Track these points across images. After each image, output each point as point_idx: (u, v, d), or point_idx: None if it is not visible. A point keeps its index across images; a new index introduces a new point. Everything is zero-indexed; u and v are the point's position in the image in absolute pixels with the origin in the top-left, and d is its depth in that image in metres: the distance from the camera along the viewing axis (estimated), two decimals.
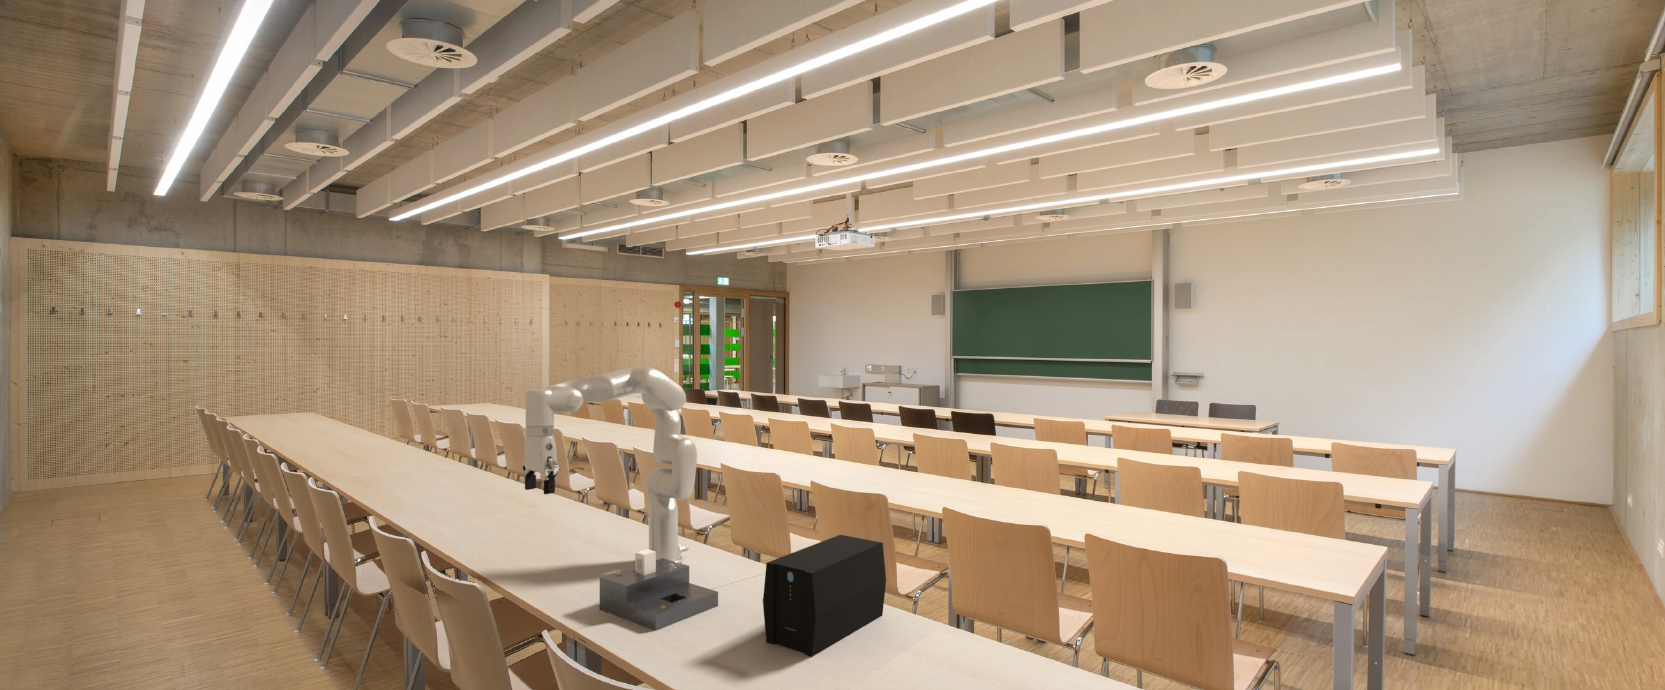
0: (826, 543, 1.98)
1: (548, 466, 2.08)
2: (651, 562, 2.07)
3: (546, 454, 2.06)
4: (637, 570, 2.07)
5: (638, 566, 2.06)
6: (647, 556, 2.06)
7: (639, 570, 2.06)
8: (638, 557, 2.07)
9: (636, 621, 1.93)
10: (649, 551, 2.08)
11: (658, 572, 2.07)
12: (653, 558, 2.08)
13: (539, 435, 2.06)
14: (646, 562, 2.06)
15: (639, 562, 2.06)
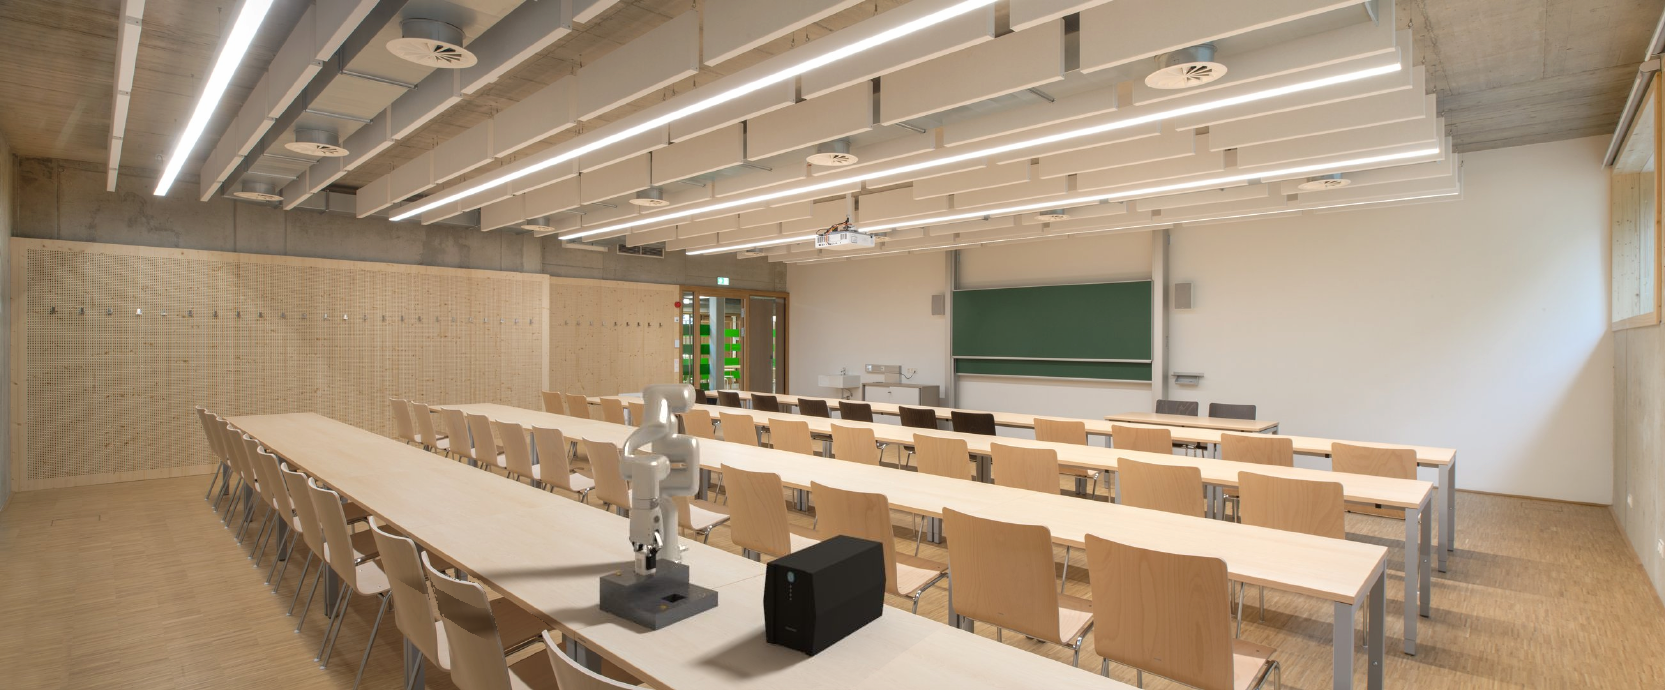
0: (826, 543, 1.98)
1: None
2: None
3: (654, 527, 2.04)
4: (637, 570, 2.07)
5: (638, 566, 2.06)
6: None
7: (639, 570, 2.06)
8: (638, 557, 2.07)
9: (636, 621, 1.93)
10: None
11: (658, 572, 2.07)
12: None
13: (647, 508, 2.04)
14: None
15: (639, 562, 2.06)
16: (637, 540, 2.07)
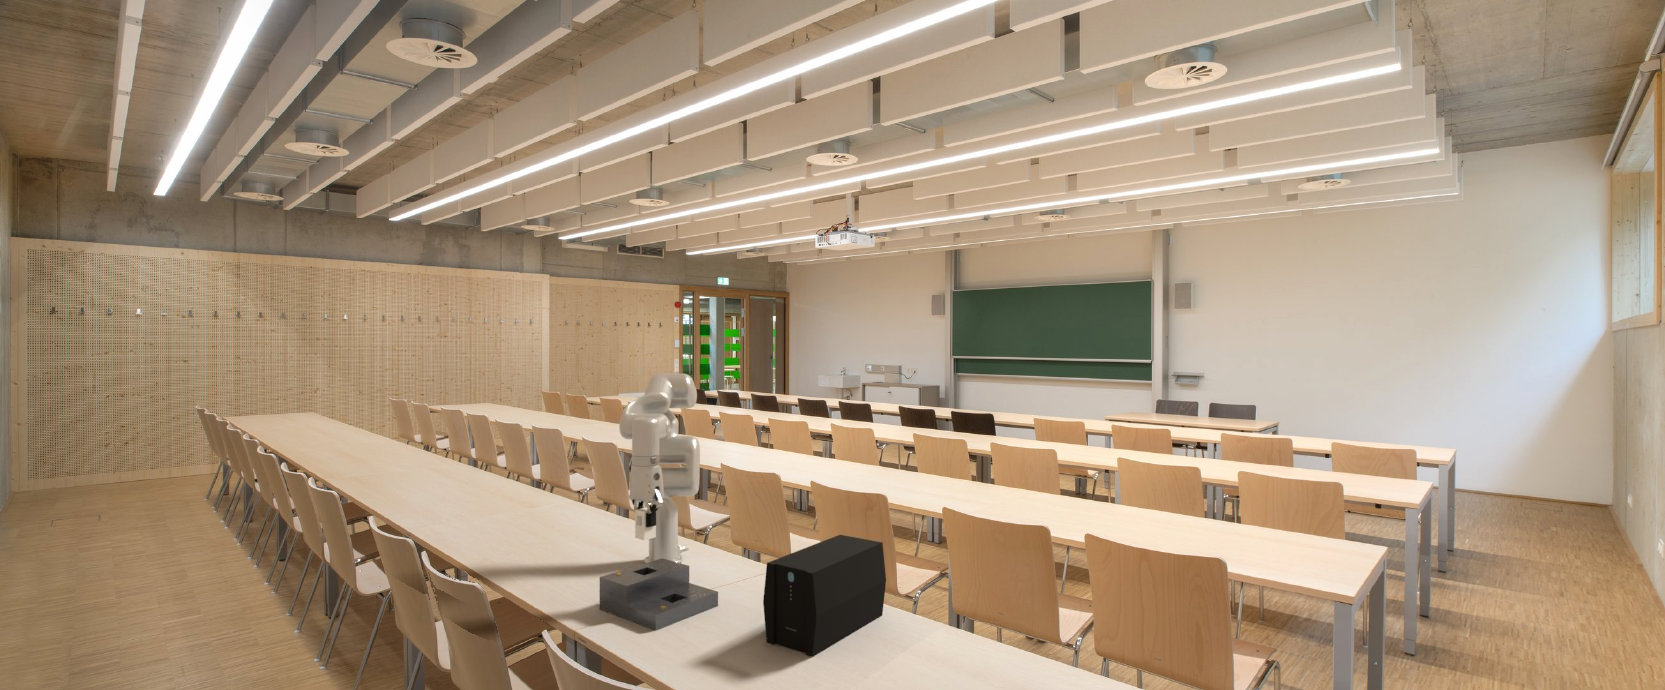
0: (825, 543, 1.98)
1: None
2: None
3: (654, 484, 2.04)
4: (637, 528, 2.07)
5: (638, 523, 2.06)
6: None
7: (639, 527, 2.07)
8: (638, 514, 2.07)
9: (636, 621, 1.93)
10: None
11: (658, 572, 2.07)
12: None
13: (647, 465, 2.04)
14: None
15: (639, 519, 2.06)
16: (637, 497, 2.07)
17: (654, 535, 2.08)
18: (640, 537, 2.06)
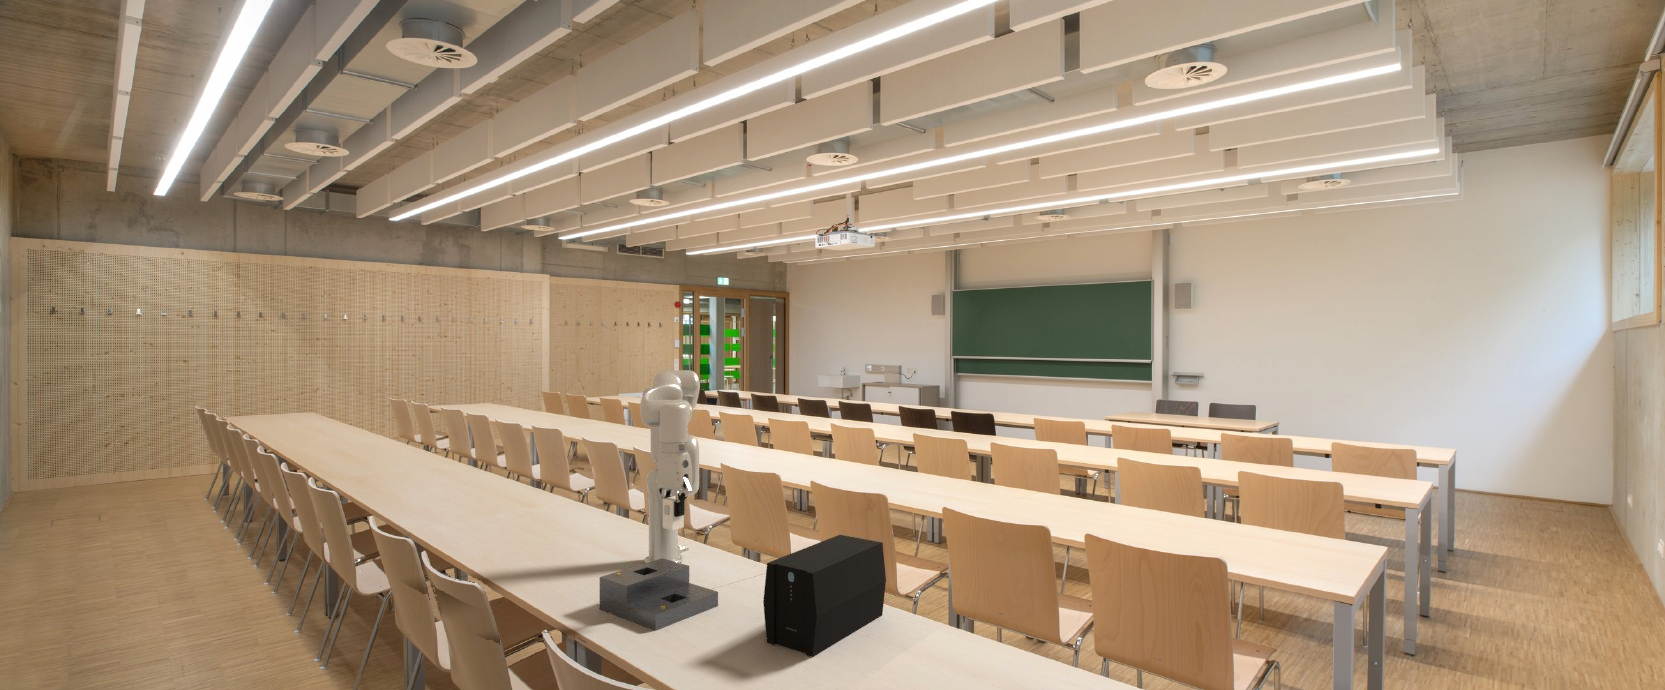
0: (825, 543, 1.98)
1: None
2: None
3: (683, 472, 1.97)
4: (665, 517, 1.99)
5: (666, 512, 1.98)
6: None
7: (667, 517, 1.99)
8: (666, 503, 1.99)
9: (636, 621, 1.93)
10: None
11: (658, 572, 2.07)
12: None
13: (675, 452, 1.97)
14: None
15: (667, 508, 1.98)
16: (665, 486, 1.99)
17: (682, 525, 2.00)
18: (668, 527, 1.99)
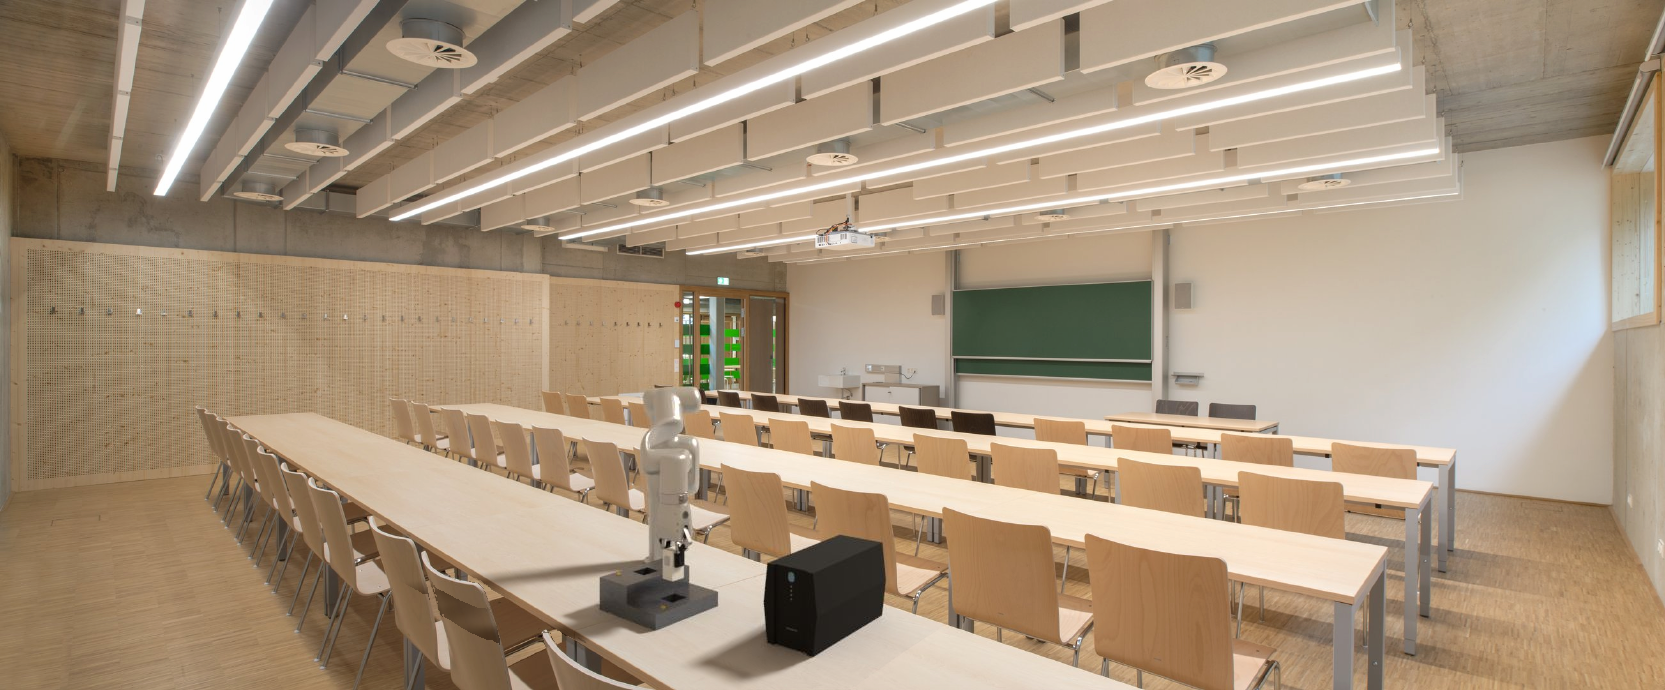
0: (825, 543, 1.98)
1: None
2: None
3: (683, 523, 1.97)
4: (665, 568, 1.99)
5: (666, 563, 1.98)
6: None
7: (667, 568, 1.99)
8: (666, 554, 1.99)
9: (636, 621, 1.93)
10: None
11: (658, 572, 2.07)
12: None
13: (675, 503, 1.97)
14: None
15: (667, 559, 1.98)
16: (665, 537, 1.99)
17: (682, 575, 2.00)
18: (668, 578, 1.99)
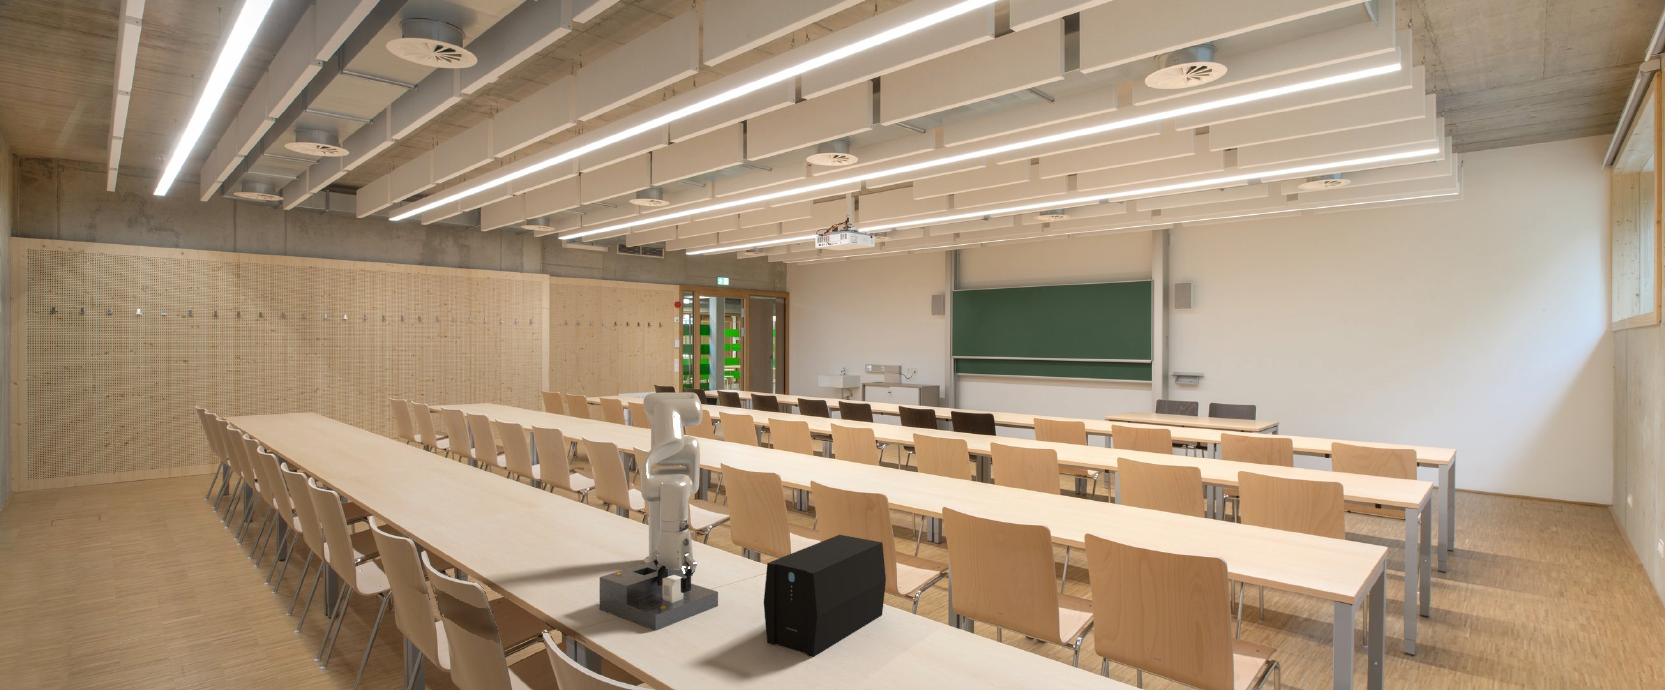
0: (825, 543, 1.98)
1: (684, 562, 1.99)
2: (679, 589, 2.00)
3: (683, 550, 1.97)
4: (665, 597, 2.00)
5: (665, 593, 1.99)
6: (675, 582, 1.99)
7: (666, 597, 1.99)
8: (665, 583, 1.99)
9: (636, 621, 1.93)
10: (677, 577, 2.01)
11: None
12: None
13: (676, 530, 1.97)
14: (674, 588, 1.98)
15: (667, 589, 1.98)
16: (665, 564, 1.99)
17: None
18: None
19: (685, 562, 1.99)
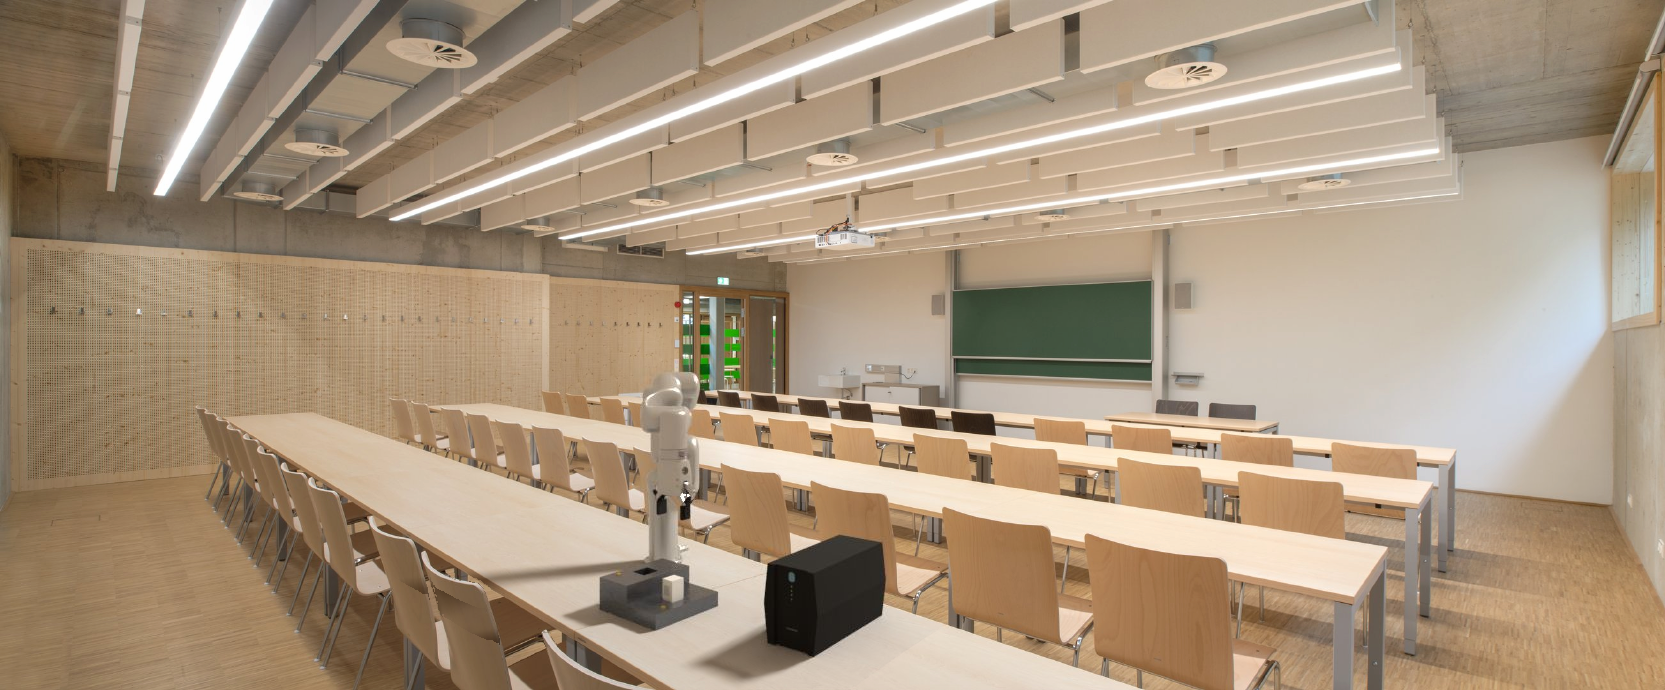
0: (825, 543, 1.98)
1: (683, 491, 1.99)
2: (679, 589, 2.00)
3: (682, 478, 1.97)
4: (665, 597, 2.00)
5: (665, 593, 1.99)
6: (675, 582, 1.99)
7: (666, 597, 1.99)
8: (665, 583, 1.99)
9: (636, 621, 1.93)
10: (677, 577, 2.01)
11: (658, 572, 2.07)
12: (681, 585, 2.00)
13: (675, 458, 1.97)
14: (674, 588, 1.98)
15: (667, 589, 1.98)
16: (665, 492, 2.00)
17: None
18: None
19: (684, 491, 1.99)
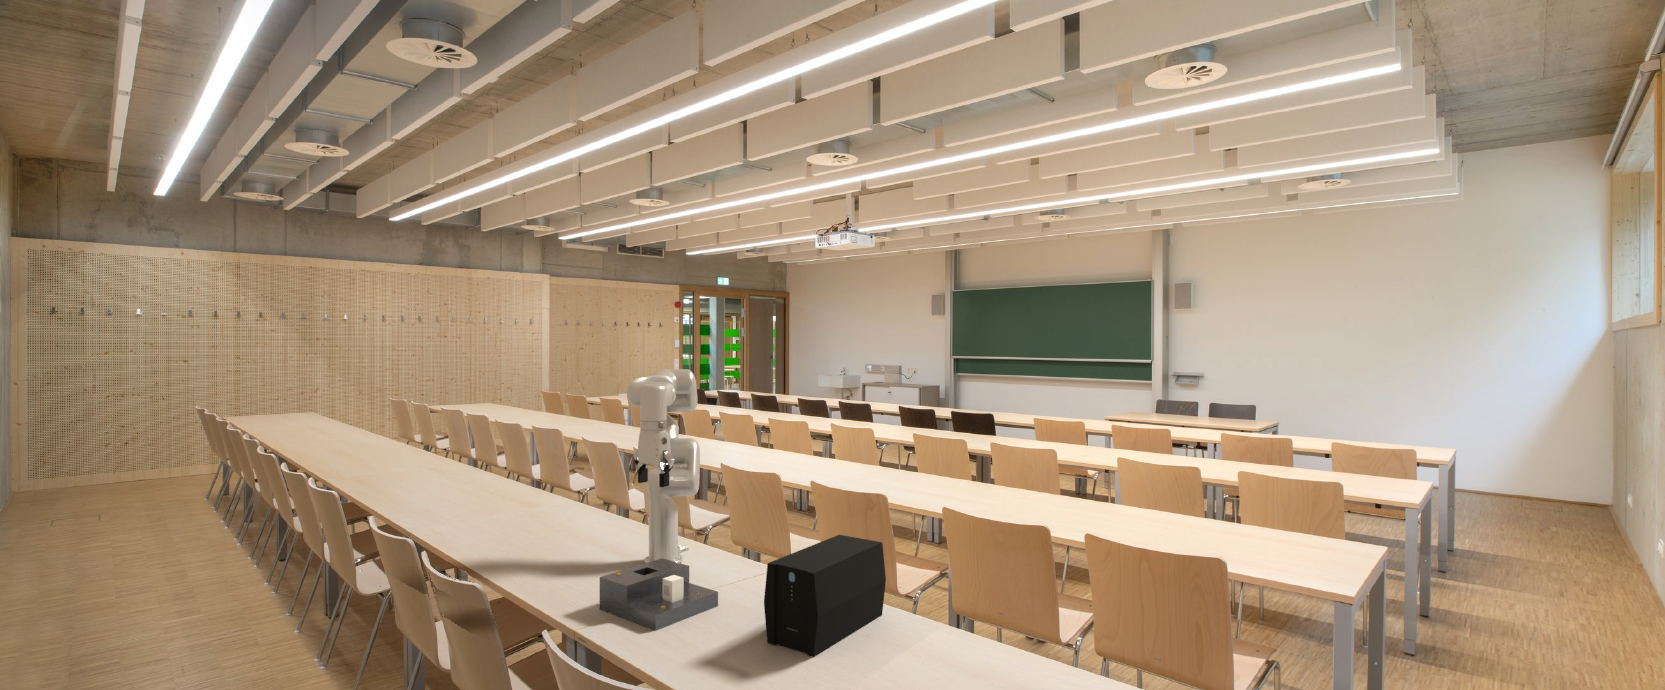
0: (825, 543, 1.98)
1: (662, 460, 2.13)
2: (679, 589, 2.00)
3: (662, 448, 2.11)
4: (665, 597, 2.00)
5: (665, 593, 1.99)
6: (675, 582, 1.99)
7: (666, 597, 1.99)
8: (665, 583, 1.99)
9: (636, 621, 1.93)
10: (677, 577, 2.01)
11: (658, 572, 2.07)
12: (681, 585, 2.00)
13: (655, 429, 2.11)
14: (674, 588, 1.98)
15: (667, 589, 1.98)
16: (645, 461, 2.14)
17: None
18: None
19: (663, 460, 2.14)
